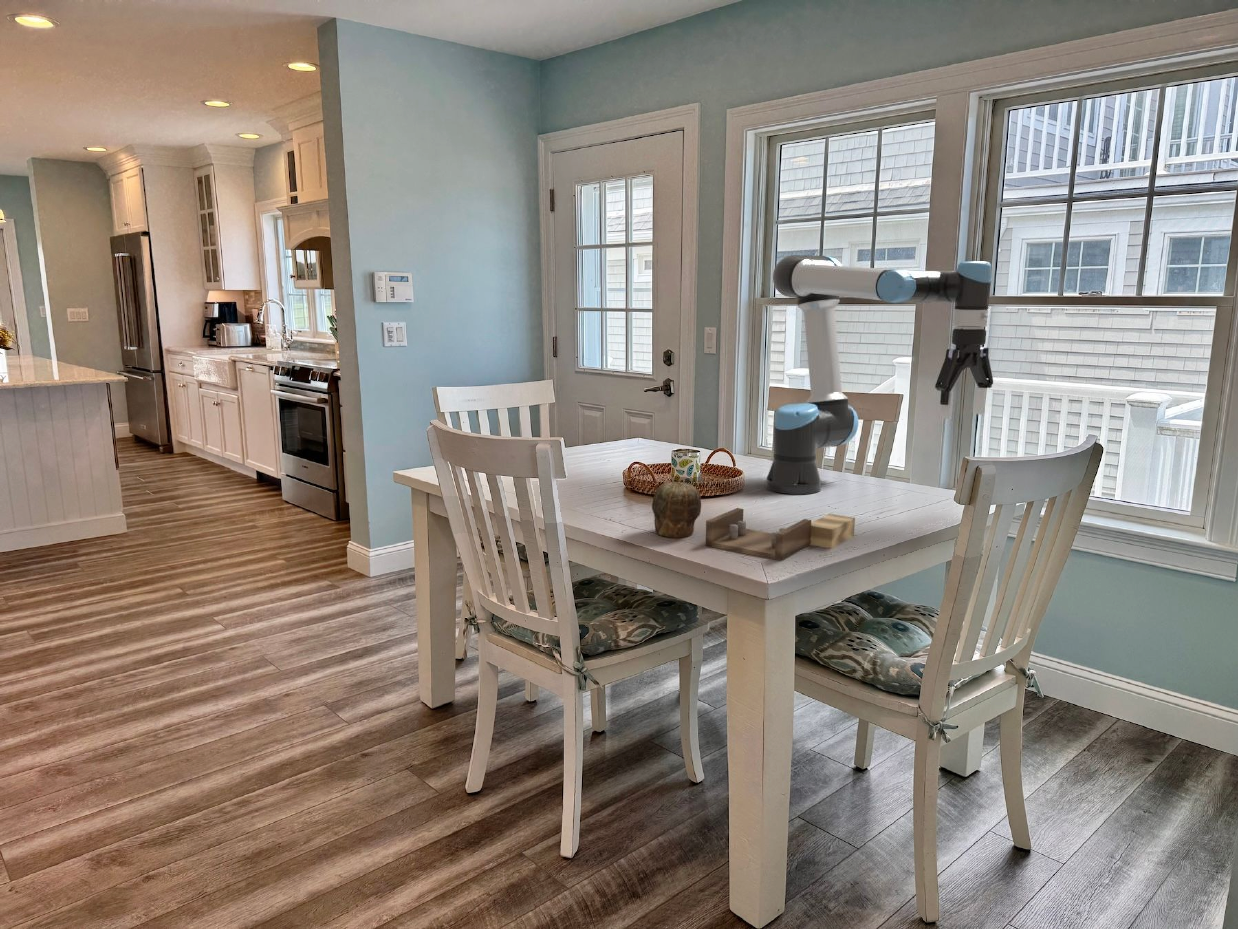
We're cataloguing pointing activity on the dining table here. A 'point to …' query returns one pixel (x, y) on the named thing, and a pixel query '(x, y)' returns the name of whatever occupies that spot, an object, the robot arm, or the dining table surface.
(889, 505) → the dining table surface
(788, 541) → the peg frame
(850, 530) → the light wooden block
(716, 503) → the dining table surface
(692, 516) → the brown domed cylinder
